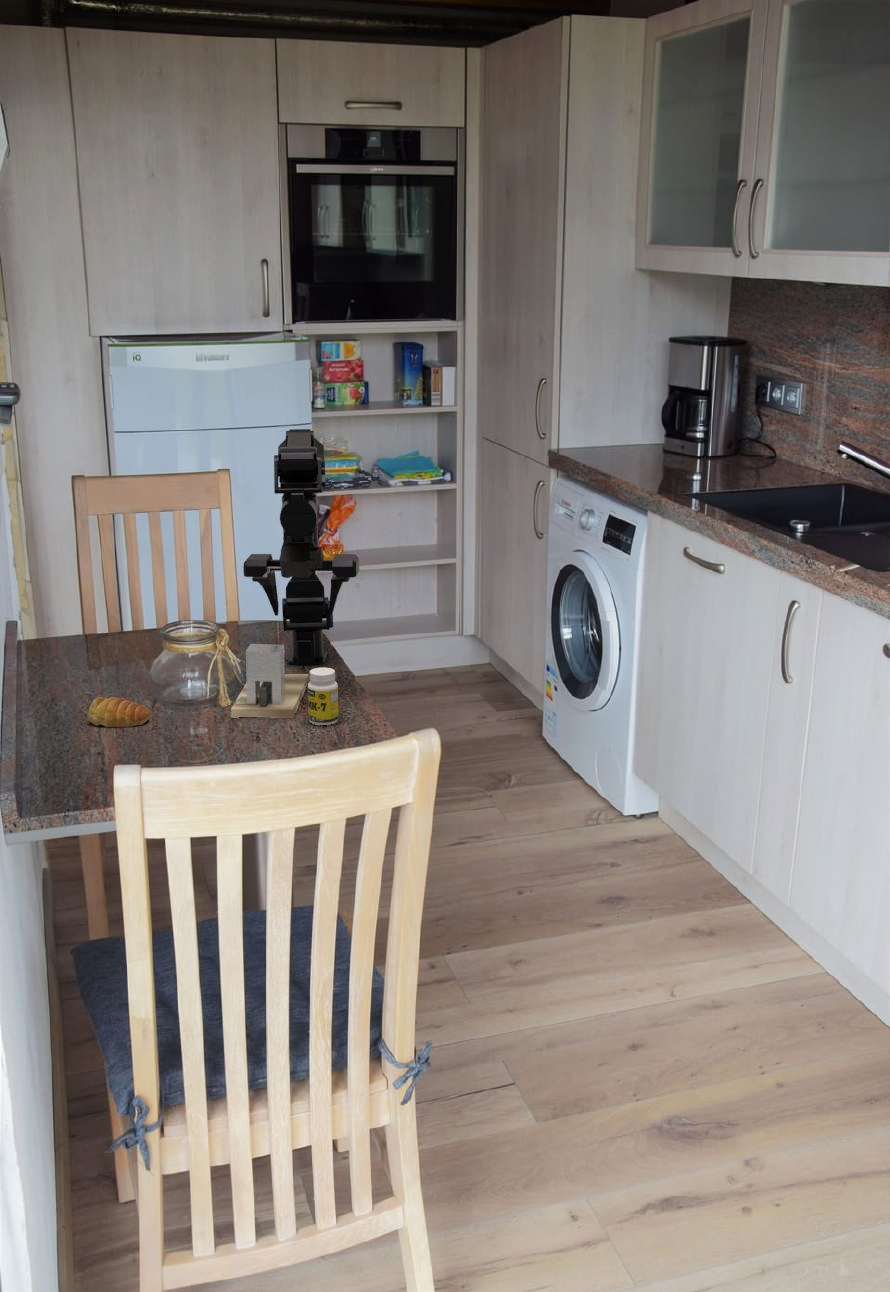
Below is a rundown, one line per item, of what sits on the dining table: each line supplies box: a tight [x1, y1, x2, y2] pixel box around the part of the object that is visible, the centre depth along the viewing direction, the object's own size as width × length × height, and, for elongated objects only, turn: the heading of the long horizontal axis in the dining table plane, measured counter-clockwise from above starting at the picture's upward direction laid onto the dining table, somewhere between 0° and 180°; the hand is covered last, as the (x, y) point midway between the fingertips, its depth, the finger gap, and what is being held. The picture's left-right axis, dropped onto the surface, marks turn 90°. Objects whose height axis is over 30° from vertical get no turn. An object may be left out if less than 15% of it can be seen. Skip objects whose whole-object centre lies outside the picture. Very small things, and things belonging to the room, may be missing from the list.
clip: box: [245, 643, 286, 705], centre depth 192 cm, size 4×6×9 cm
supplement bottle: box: [307, 667, 339, 727], centre depth 188 cm, size 5×5×8 cm
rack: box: [230, 673, 310, 719], centre depth 198 cm, size 18×10×4 cm, turn 178°
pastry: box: [87, 696, 151, 728], centre depth 189 cm, size 9×7×4 cm
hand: (303, 615), depth 201 cm, fingers open, 9 cm apart
